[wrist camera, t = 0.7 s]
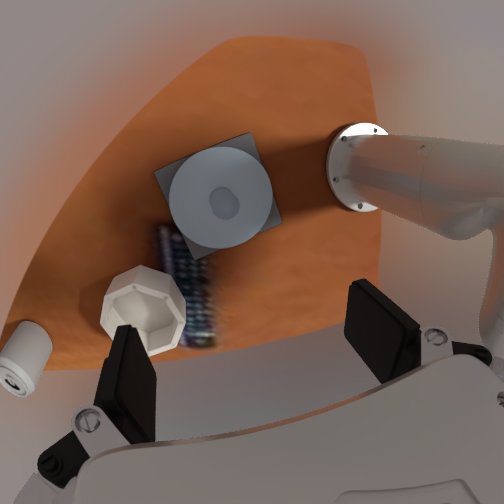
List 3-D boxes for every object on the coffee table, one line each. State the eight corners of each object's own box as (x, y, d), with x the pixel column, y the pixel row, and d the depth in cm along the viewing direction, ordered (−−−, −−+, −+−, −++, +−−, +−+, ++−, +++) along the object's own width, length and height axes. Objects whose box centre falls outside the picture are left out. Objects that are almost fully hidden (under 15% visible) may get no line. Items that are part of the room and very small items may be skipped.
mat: (249, 132, 30) (250, 132, 29) (281, 221, 35) (282, 223, 34) (154, 171, 29) (153, 172, 29) (194, 258, 34) (194, 260, 34)
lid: (250, 132, 29) (261, 129, 25) (282, 223, 34) (296, 235, 30) (153, 171, 29) (146, 176, 24) (194, 260, 34) (195, 278, 29)
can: (19, 339, 32) (-7, 384, 21) (21, 310, 31) (-11, 356, 20) (52, 358, 35) (31, 408, 24) (56, 331, 33) (31, 383, 23)
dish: (160, 255, 33) (156, 272, 28) (195, 317, 37) (196, 339, 33) (97, 285, 32) (86, 304, 28) (135, 340, 37) (131, 362, 32)
